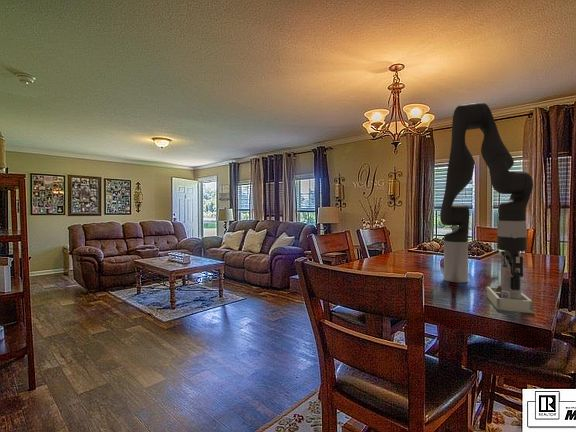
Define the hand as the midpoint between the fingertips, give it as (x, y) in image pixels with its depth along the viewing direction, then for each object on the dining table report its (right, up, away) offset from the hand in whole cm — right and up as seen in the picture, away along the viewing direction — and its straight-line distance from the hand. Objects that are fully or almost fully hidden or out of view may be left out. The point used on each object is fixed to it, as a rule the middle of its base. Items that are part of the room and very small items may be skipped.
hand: (511, 286), depth 98 cm
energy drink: (0, -6, 0) cm, 6 cm away
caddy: (+1, -6, +4) cm, 8 cm away
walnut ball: (+3, -6, +7) cm, 10 cm away
